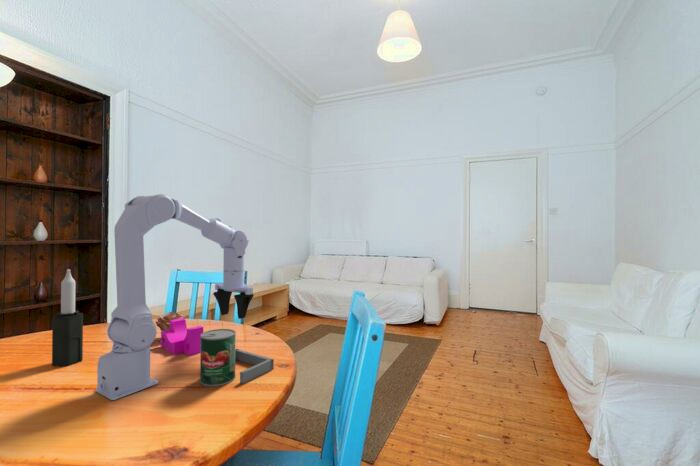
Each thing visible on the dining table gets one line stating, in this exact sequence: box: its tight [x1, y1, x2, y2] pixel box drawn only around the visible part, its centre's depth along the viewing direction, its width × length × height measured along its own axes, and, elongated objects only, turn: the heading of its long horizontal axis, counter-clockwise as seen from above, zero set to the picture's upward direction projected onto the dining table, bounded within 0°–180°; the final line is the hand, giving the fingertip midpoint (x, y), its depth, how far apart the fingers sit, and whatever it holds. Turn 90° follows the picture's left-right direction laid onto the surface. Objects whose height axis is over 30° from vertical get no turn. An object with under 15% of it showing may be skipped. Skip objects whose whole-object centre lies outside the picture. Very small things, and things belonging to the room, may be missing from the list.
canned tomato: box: [199, 328, 236, 387], centre depth 79 cm, size 8×8×11 cm
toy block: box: [160, 318, 204, 356], centre depth 100 cm, size 15×6×8 cm, turn 49°
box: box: [235, 348, 275, 384], centre depth 85 cm, size 10×14×2 cm
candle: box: [51, 268, 84, 368], centre depth 88 cm, size 5×5×25 cm
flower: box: [155, 311, 188, 334], centre depth 110 cm, size 10×9×8 cm
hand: (233, 316), depth 99 cm, fingers open, 7 cm apart
